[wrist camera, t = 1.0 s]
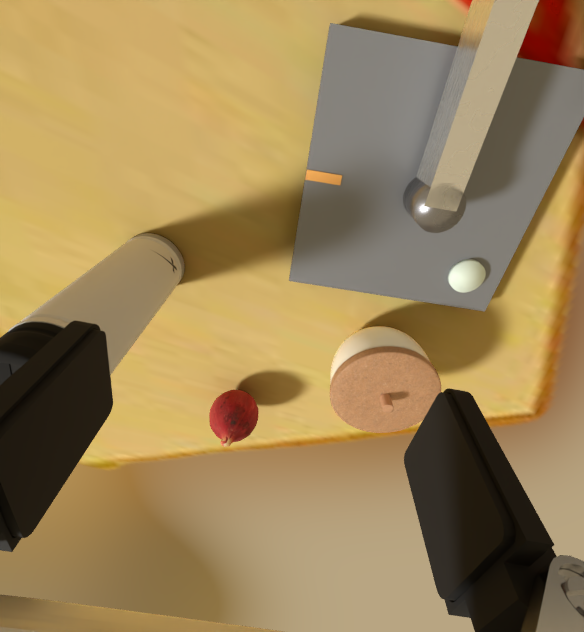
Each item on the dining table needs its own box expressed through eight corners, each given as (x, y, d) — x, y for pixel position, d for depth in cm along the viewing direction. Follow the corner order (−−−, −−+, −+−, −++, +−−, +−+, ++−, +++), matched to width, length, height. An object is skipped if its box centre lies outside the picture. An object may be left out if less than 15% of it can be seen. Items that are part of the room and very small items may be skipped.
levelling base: (329, 28, 26) (330, 21, 24) (587, 75, 27) (611, 73, 25) (290, 272, 36) (288, 283, 34) (476, 301, 37) (487, 314, 35)
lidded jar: (438, 353, 41) (469, 414, 33) (363, 396, 45) (375, 460, 37) (384, 291, 37) (404, 343, 29) (308, 345, 41) (307, 403, 33)
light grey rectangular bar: (435, 218, 31) (454, 236, 27) (395, 212, 31) (408, 228, 26) (516, -4, 23) (560, -27, 19) (463, -14, 23) (496, -39, 19)
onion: (226, 369, 44) (210, 419, 37) (268, 386, 45) (261, 437, 38) (211, 399, 46) (194, 451, 40) (251, 414, 48) (241, 467, 41)
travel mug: (190, 240, 35) (75, 370, 18) (180, 295, 39) (75, 448, 21) (127, 220, 34) (-55, 335, 17) (122, 278, 38) (-34, 422, 21)
